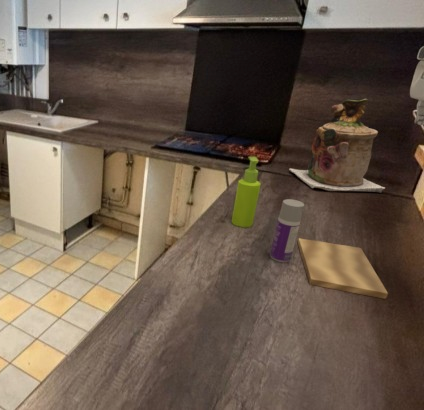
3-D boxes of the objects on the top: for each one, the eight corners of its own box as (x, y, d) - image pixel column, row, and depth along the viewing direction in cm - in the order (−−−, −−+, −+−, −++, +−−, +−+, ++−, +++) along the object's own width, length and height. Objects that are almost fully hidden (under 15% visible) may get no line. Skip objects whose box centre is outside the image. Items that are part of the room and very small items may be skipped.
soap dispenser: (250, 218, 111) (263, 155, 103) (253, 228, 104) (267, 162, 96) (230, 216, 112) (241, 154, 104) (232, 226, 106) (244, 161, 98)
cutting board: (359, 252, 92) (360, 247, 91) (385, 299, 75) (388, 293, 74) (297, 242, 97) (298, 238, 96) (309, 284, 80) (311, 278, 79)
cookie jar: (347, 172, 151) (371, 93, 138) (386, 194, 128) (419, 102, 116) (286, 171, 153) (304, 93, 140) (313, 192, 131) (338, 101, 118)
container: (265, 254, 91) (277, 200, 85) (279, 251, 93) (292, 197, 87) (280, 264, 87) (294, 208, 81) (294, 260, 89) (309, 205, 83)
